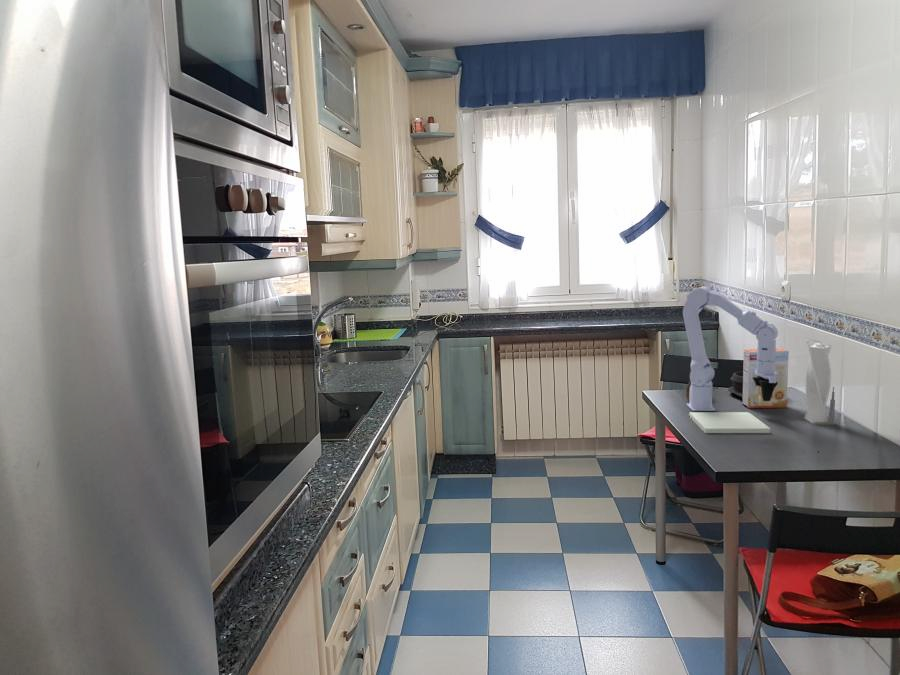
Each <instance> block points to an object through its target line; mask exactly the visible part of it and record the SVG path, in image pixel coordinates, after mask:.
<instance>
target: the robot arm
mask: <svg viewBox="0 0 900 675" xmlns="http://www.w3.org/2000/svg"><path fill="white" fill-rule="evenodd" d="M705 306H711V307H712V306H713V307H718V308H719V309H722V310H723V311H725V312H726V313H728V314H730V316H732V317H734V318H735V319H736V320H737V324H738V325H740V326H741V327H742V328H743V329H745V330H746V331H748V332H749V333H751V334H752V335H755V337H756V338H755V339H756V340H757V341H758V342H757V348H756V349H757V368H756V369H755V374H756V375H757V377H753V380H754V382H755V384H756V388H757V386H761V389H762V397H763V401H770V399H771V396H772V393H773V391H774V389H775V387H776V385H777V384H778V382H777V381H776V377H775V375H778V373H777V372H775V356H776V349H777V347H776V345H777V342H776V341H777V340H776V339H777V337H778V336H779V330H778V328H777V327H776V326H775V324H773V323H769V321H767V320H764V319H762V318H760V316H757V312H755V311H751V310H742V309H741V308H740V307H739V306H738V305H737V304H735V303H733V302H732V301H731V300H730V299H728V298H727V297H725V296H724V295H723V294H721V293H720V292H719V291H718V290H716V289H713V288H712V287H711V286H708V285H703V286H701V287H695V288H693V289H692V290H691V291H690V292H689V293H688V294H687V295H686V300H685V303H684V305H683V309H682V316H683V322H684V327H685V332H686V337H687V341H688V347H689V348H688V349H689V352H690V357H691V361H690V365H689V366H690V367H689V368H690V373H689V379H690V380H691V386H690V390H689V401H688V403H686V406H687V407H688V408H689V409H691V411H692V412H716V408H714V407H713V384H714V383H713V382H712V380H713V379H714V377H715V369H714V367H712V365H711V360H709V358H708V356H707V351H706V345H705V341H704V337H703V336H704V335H703V331H702V326H701V325H702V324H701V321H700V316H699V313H700V312H701V311H702V310H703V309H704V307H705ZM690 380H689V381H690Z"/></svg>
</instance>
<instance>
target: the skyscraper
mask: <svg viewBox="0 0 900 675" xmlns="http://www.w3.org/2000/svg"><path fill="white" fill-rule="evenodd" d="M809 342H814V344H813V345H811V344H810V343H809ZM806 343H807V347H808V352H809V358H808V363H807V366H806V371H805V382H804V385H805V387H804V388H805V399H806V405H807V410H806V413H805V415H804V418H803V419H804V420H805V421H807V422H808V423H811V424H812V425H813V426H814V425H817V426H819V425H824V426H825V425H836V423H835V414H836V413H835V411H836V410H835V408H836V399H835V386H832V391H831V399H830V401H829V402H830V403H829V412H828V418H827V415H826V411H825V408H826V406H827V402H828V398H829V395H830V390H831V382H832V371H831V364H830V358H829V355H830V352H831V349H832V344H829V343H826V342H821V341H819V340H816V339H807V340H806ZM810 345H811V346H810Z"/></svg>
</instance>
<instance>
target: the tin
mask: <svg viewBox="0 0 900 675" xmlns="http://www.w3.org/2000/svg"><path fill="white" fill-rule="evenodd" d="M690 386H691V380H689V382H688V383H687V386H686V393H685V395H686V400H687V401H688V402H689V390H690Z"/></svg>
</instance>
